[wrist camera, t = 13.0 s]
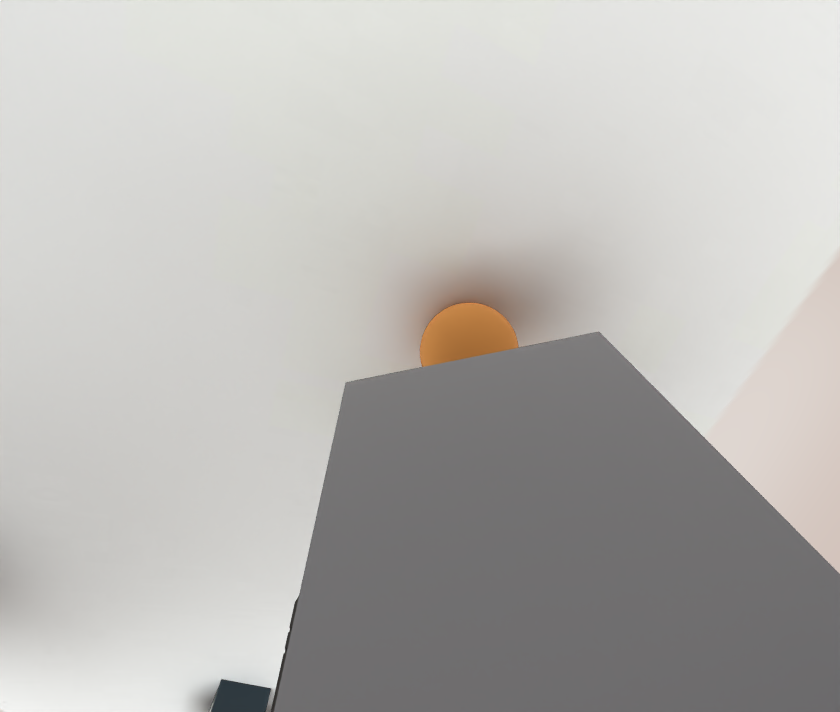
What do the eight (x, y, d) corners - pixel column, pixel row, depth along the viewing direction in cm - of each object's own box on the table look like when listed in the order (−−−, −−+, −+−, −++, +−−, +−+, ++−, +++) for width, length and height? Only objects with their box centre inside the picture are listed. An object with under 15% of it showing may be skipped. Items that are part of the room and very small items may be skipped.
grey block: (401, 555, 15) (402, 1010, 7) (345, 382, 12) (245, 838, 4) (605, 518, 15) (836, 958, 7) (598, 331, 12) (995, 730, 4)
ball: (410, 290, 22) (422, 336, 27) (417, 384, 20) (428, 417, 25) (513, 277, 22) (507, 326, 26) (532, 372, 20) (521, 408, 24)
